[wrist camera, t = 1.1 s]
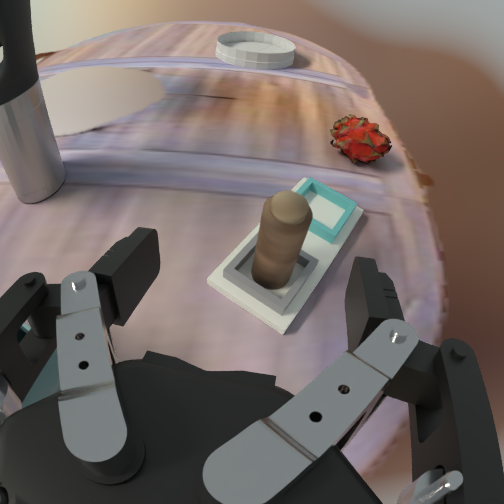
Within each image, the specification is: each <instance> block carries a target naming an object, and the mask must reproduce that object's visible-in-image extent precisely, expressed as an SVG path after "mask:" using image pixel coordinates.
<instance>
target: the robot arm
mask: <svg viewBox="0 0 504 504" xmlns="http://www.w3.org/2000/svg"><path fill="white" fill-rule="evenodd" d="M1 46H3V55H4V57H3V60H2V62H1V63H0V160H1V163H2V165H3V167H4V169H5V172H6V174H7V176H8V178H9V180H10V182H11V185H12V187H13V189H14V191H15V193H16V195H17V197H18V199H19V200H20V201H22V202H24V203H35V202H39V201H41V200H44V199H46V198H48V197H49V196H51V195H52V194H53V193H55V192H56V191H57V190H58V189H59V188H60V186H61V185H62V184H63V182H64V180H65V177H66V171H65V168H64V165H63V162H62V159H61V156H60V153H59V150H58V146H57V143H56V140H55V137H54V133H53V130H52V126H51V123H50V120H49V116H48V112H47V108H46V104H45V100H44V96H43V93H42V88H41V85H40V80H39V75H38V71H37V64H36V55H35V48H34V42H33V35H32V24H31V8H30V0H0V47H1ZM159 270H160V253H159V243H158V234H157V231H156V230H155V229H150V228H142V227H138V228H137V229H136V230H135V231H134V232H133V233H132V234H131V235H130V236H129V237H125V238H123V239H121V240H120V241H118V242H116V243H115V244H114V245H113V246H112V247H111V248H110V250H108V251H107V252H106V253H105V254H104V256H102V257H101V258H100V259H99V260H98V261H97V262H96V263H95V264H94V265H93V266H92V267H91V268H90V270H89V271H79V272H75V273H72V274H70V275H68V276H67V277H66V278H64V280H63V281H62V283H61V284H47V283H46V280H45V277H44V275H43V274H42V273H39V272H32V273H28V274H25V275H23V276H22V277H20V278H19V279H18V280H17V281H16V282H15V283H14V284H13V285H12V286H11V287H10V288H9V289H8V290H7V291H6V292H5V293H4V295H3V296H2V297H1V298H0V504H383V503H382V502H381V501H380V499H379V498H378V497H377V496H376V495H375V493H374V492H373V491H372V490H371V488H370V487H369V486H368V485H367V483H366V482H365V481H364V480H363V478H362V477H361V476H360V475H359V473H358V472H357V471H356V470H355V468H354V467H353V466H352V465H351V463H350V462H349V461H348V460H347V458H346V457H345V456H344V454H343V453H342V451H343V450H344V448H345V447H346V446H347V445H348V444H349V443H350V441H351V440H352V439H353V438H354V436H355V435H356V434H357V433H358V431H359V430H360V429H361V428H362V427H363V425H364V424H365V423H366V422H367V421H368V419H369V418H370V417H371V416H372V415H373V413H374V412H375V411H376V410H377V408H378V407H379V406H380V405H381V403H382V402H383V401H384V400H385V398H386V397H387V396H390V397H392V398H395V399H398V400H402V401H405V402H408V406H409V417H410V430H411V448H412V480H413V481H412V483H411V484H410V485H408V486H407V487H406V488H405V489H404V490H403V491H402V492H401V493H400V495H399V497H398V501H397V504H504V472H503V466H502V460H501V454H500V448H499V443H498V438H497V433H496V429H495V424H494V420H493V415H492V411H491V407H490V403H489V400H488V396H487V392H486V389H485V385H484V382H483V378H482V375H481V372H480V369H479V365H478V362H477V360H476V356H475V354H474V351H473V350H472V349H471V347H470V346H469V345H468V344H466V343H465V342H463V341H461V340H458V339H452V338H451V339H447V340H445V341H444V342H443V343H442V344H441V346H440V348H439V347H436V346H433V345H430V344H427V343H425V342H422V341H420V340H419V336H418V333H417V331H416V330H415V329H414V327H413V326H411V325H410V324H409V323H407V322H405V320H404V317H403V313H402V310H401V306H400V303H399V300H398V299H397V298H398V297H397V293H396V292H395V287H394V284H393V281H392V280H391V279H390V278H389V277H388V275H387V274H386V273H381V272H378V269H377V265H376V262H375V259H371V258H364V257H357V256H356V257H355V259H354V263H353V267H352V270H351V274H350V278H349V282H348V285H347V289H346V294H345V312H346V323H347V335H348V348H349V350H347V351H345V352H344V353H343V354H342V355H341V356H339V357H338V358H337V359H336V360H335V361H334V362H333V363H332V364H331V365H330V366H329V367H328V368H326V369H325V370H324V371H323V372H322V373H321V374H320V375H319V376H317V377H316V378H315V379H314V380H313V381H312V382H311V383H309V384H308V385H307V386H306V387H305V388H304V389H303V390H301V391H300V392H299V393H298V394H297V395H293V394H291V393H290V392H288V391H286V390H284V389H282V388H280V387H277V386H275V380H276V376H273V375H266V374H260V373H253V372H247V371H205V370H202V369H200V368H198V367H196V366H194V365H191V364H189V363H187V362H185V361H183V360H181V359H178V358H176V357H172V356H167V355H163V354H159V353H155V352H151V351H147V352H146V354H145V356H144V358H143V359H136V360H127V361H123V362H119V363H118V360H117V356H116V352H115V348H114V344H113V339H112V335H111V331H110V326H111V325H112V324H115V325H119V326H124V325H125V323H126V322H127V320H128V319H129V317H130V316H131V314H132V313H133V311H134V310H135V308H136V307H137V305H138V304H139V302H140V301H141V299H142V298H143V296H144V295H145V293H146V292H147V290H148V289H149V287H150V286H151V284H152V283H153V281H154V280H155V279H156V277H157V276H158V273H159ZM27 319H28V322H29V324H30V326H31V329H30V330H29V331H28V333H27V334H26V335H25V337H24V338H23V339H22V341H21V342H20V344H19V343H18V341H17V333H18V330H19V329H20V327H21V326H22V325H23V323H24V322H25V321H26V320H27ZM56 348H57V354H58V368H59V380H60V389H61V390H60V391H58V392H56V393H54V394H52V395H50V396H48V397H46V398H43V399H41V400H39V401H37V402H35V403H33V404H31V405H29V406H26V407H24V408H22V403H23V401H24V399H25V397H26V396H27V394H28V392H29V391H30V389H31V387H32V386H33V384H34V382H35V381H36V379H37V378H38V376H39V374H40V373H41V371H42V370H43V368H44V366H45V365H46V363H47V362H48V360H49V359H50V357H51V355H52V354H53V352H54V351H55V349H56Z"/></svg>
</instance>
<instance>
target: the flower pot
mask: <svg viewBox="0 0 504 504" xmlns="http://www.w3.org/2000/svg"><path fill="white" fill-rule="evenodd" d="M30 329H31V327H30V326H29V325H28V324H26V323H25V322H24V323H23V325H22V326H21V327H20V329H19V330H18V333H17V341H18V343H19V344H20V342H21V341H22V339H23V338H24V337H25V335H26V334H27V333H28V331H29V330H30ZM60 390H61V389H60V380H59V368H58V354H57V350H56V349H55V351H54V352H53V354H52V355H51V357H50V359H49V360H48V362H47V363H46V365H45V366H44V368H43V370H42V371H41V373H40V374H39V376H38V378H37V379H36V381H35V382H34V384H33V386H32V387H31V389H30V391H29V392H28V394H27V396H26V397H25V399H24V401H23V403H22V408H24V407H26V406H29V405H31V404H33V403H35V402H37V401H39V400H41V399H43V398H46V397H48V396H50V395H52V394H54V393H56V392H58V391H60Z"/></svg>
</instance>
